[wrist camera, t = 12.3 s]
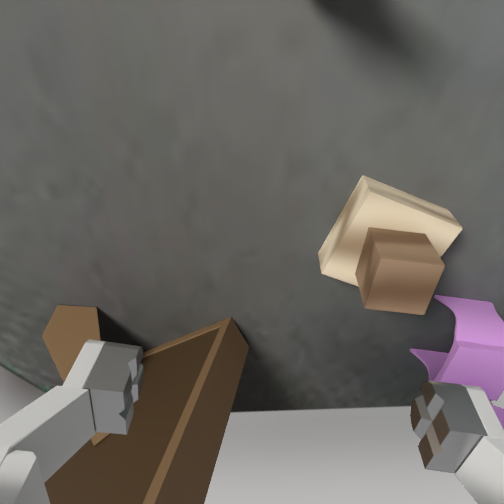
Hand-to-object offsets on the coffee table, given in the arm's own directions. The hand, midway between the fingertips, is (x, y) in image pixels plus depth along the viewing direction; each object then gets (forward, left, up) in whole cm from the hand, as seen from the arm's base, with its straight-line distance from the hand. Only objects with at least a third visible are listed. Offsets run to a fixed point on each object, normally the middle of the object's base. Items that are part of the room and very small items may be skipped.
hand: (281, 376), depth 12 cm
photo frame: (+26, -12, -28) cm, 40 cm away
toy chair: (+19, +23, -28) cm, 41 cm away
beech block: (+9, +12, -28) cm, 32 cm away
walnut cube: (+9, +12, -24) cm, 28 cm away
